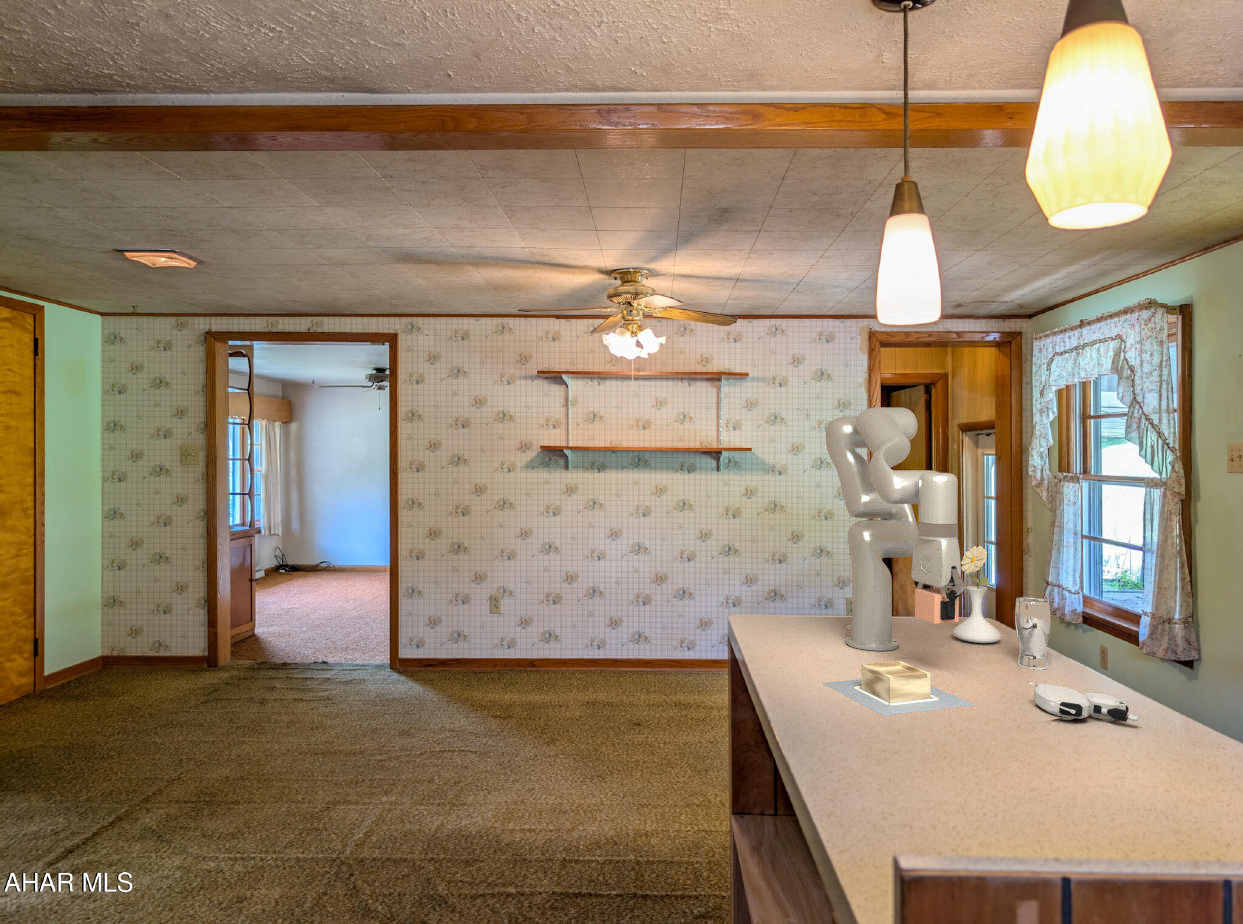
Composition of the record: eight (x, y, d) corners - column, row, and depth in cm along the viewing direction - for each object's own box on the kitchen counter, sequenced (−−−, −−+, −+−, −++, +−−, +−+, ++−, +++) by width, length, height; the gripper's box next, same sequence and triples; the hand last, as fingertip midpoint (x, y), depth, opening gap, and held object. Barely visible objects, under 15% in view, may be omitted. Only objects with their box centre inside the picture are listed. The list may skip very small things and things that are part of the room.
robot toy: (1112, 713, 135) (1024, 701, 139) (1114, 689, 135) (1026, 678, 139) (1142, 737, 123) (1045, 723, 127) (1144, 711, 123) (1047, 698, 127)
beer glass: (1041, 662, 166) (1041, 597, 166) (1056, 671, 160) (1056, 603, 160) (1010, 661, 167) (1009, 596, 167) (1023, 670, 160) (1023, 602, 160)
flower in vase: (947, 634, 193) (947, 541, 193) (994, 636, 191) (993, 542, 191) (960, 647, 181) (959, 547, 181) (1010, 649, 178) (1009, 547, 178)
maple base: (861, 688, 144) (861, 664, 144) (899, 684, 147) (899, 660, 147) (890, 702, 136) (890, 677, 136) (930, 698, 138) (930, 673, 138)
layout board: (822, 687, 148) (822, 682, 148) (905, 679, 154) (905, 674, 154) (883, 721, 129) (883, 714, 129) (975, 709, 135) (975, 704, 135)
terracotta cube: (914, 616, 155) (915, 589, 155) (938, 614, 157) (938, 587, 157) (934, 623, 150) (934, 594, 149) (958, 621, 151) (958, 593, 151)
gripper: (896, 527, 160) (895, 607, 161) (952, 537, 143) (950, 627, 144) (924, 525, 162) (923, 605, 163) (982, 535, 146) (981, 624, 146)
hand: (936, 614), depth 153 cm, fingers closed on terracotta cube, 6 cm apart
